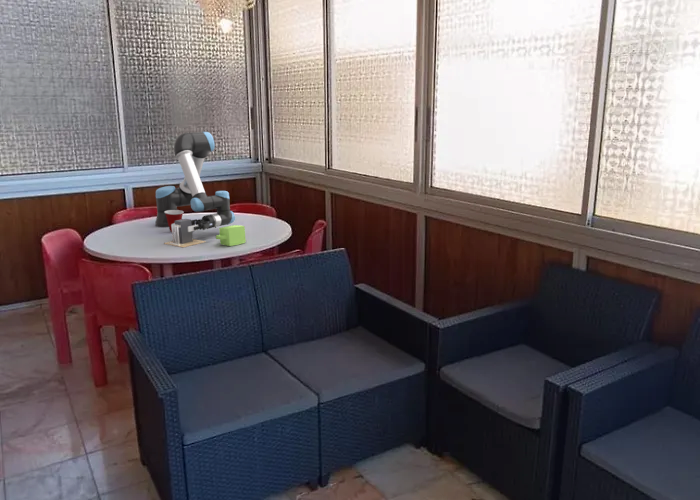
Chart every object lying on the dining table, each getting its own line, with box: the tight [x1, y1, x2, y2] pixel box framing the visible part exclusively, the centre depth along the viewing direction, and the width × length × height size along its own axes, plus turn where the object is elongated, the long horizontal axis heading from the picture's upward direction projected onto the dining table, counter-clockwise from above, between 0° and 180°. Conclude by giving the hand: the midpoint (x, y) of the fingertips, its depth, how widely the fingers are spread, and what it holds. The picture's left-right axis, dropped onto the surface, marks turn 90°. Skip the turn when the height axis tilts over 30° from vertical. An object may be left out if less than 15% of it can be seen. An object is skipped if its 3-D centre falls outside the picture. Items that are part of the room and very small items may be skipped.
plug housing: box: [175, 218, 194, 244], centre depth 315 cm, size 5×7×12 cm
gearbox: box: [215, 224, 247, 247], centre depth 313 cm, size 18×10×10 cm, turn 140°
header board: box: [163, 225, 206, 248], centre depth 316 cm, size 16×15×10 cm
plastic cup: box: [165, 209, 185, 233], centre depth 345 cm, size 11×11×12 cm
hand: (179, 228), depth 313 cm, fingers open, 13 cm apart
